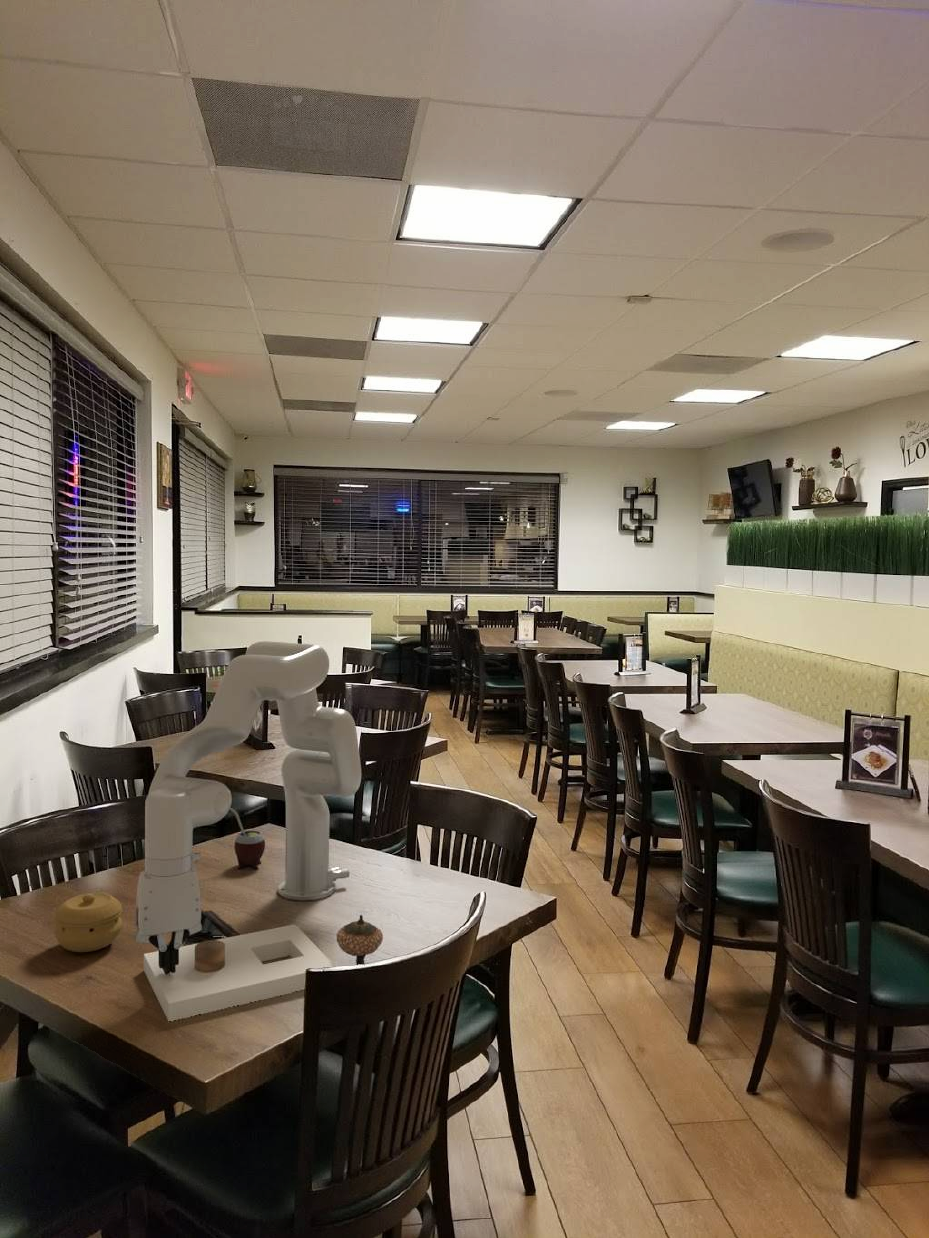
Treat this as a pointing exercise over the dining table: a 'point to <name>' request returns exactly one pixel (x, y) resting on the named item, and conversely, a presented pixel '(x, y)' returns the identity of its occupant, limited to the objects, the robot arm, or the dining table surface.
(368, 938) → the acorn
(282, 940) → the plate
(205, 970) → the brown wooden cylinder
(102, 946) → the pot
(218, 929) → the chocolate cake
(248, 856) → the mate gourd
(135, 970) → the dining table surface
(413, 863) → the dining table surface
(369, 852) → the dining table surface
